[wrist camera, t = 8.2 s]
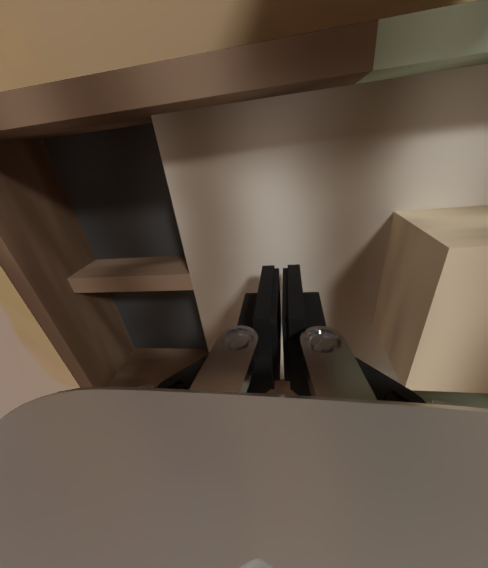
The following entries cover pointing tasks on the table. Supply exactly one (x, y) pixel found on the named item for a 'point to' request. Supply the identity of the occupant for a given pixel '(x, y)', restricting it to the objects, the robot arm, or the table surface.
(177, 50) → the table surface
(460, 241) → the maple block
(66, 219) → the track
